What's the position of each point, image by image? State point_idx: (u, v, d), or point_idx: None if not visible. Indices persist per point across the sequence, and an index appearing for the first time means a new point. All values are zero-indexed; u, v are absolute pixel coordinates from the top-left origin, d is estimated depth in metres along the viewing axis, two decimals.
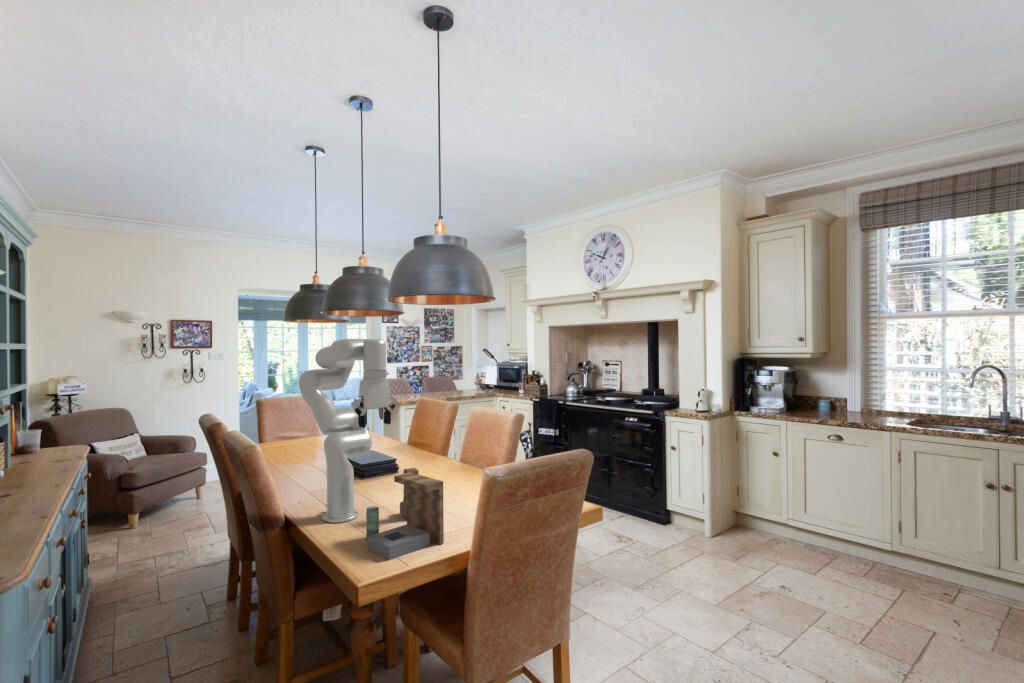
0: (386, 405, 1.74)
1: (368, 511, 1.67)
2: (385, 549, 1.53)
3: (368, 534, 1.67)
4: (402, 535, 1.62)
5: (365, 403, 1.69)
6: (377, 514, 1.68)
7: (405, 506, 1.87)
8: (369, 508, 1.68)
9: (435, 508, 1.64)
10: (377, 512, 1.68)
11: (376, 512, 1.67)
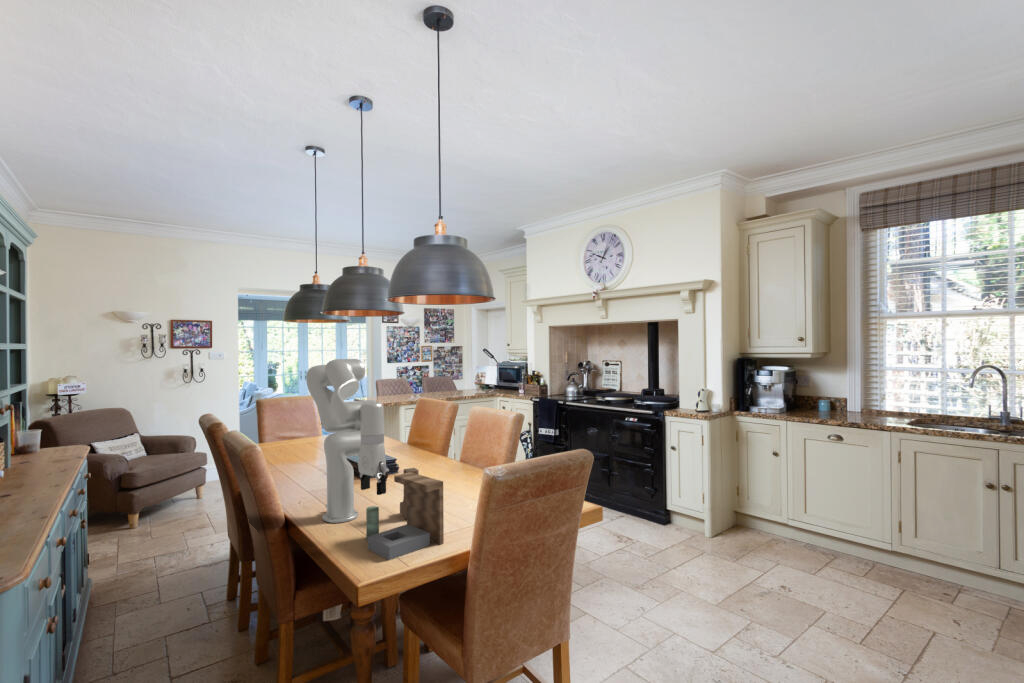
0: None
1: (368, 511, 1.67)
2: (385, 549, 1.53)
3: (368, 534, 1.67)
4: (402, 535, 1.62)
5: None
6: (377, 514, 1.68)
7: (405, 506, 1.87)
8: (369, 508, 1.68)
9: (435, 508, 1.64)
10: (377, 512, 1.68)
11: (376, 512, 1.67)
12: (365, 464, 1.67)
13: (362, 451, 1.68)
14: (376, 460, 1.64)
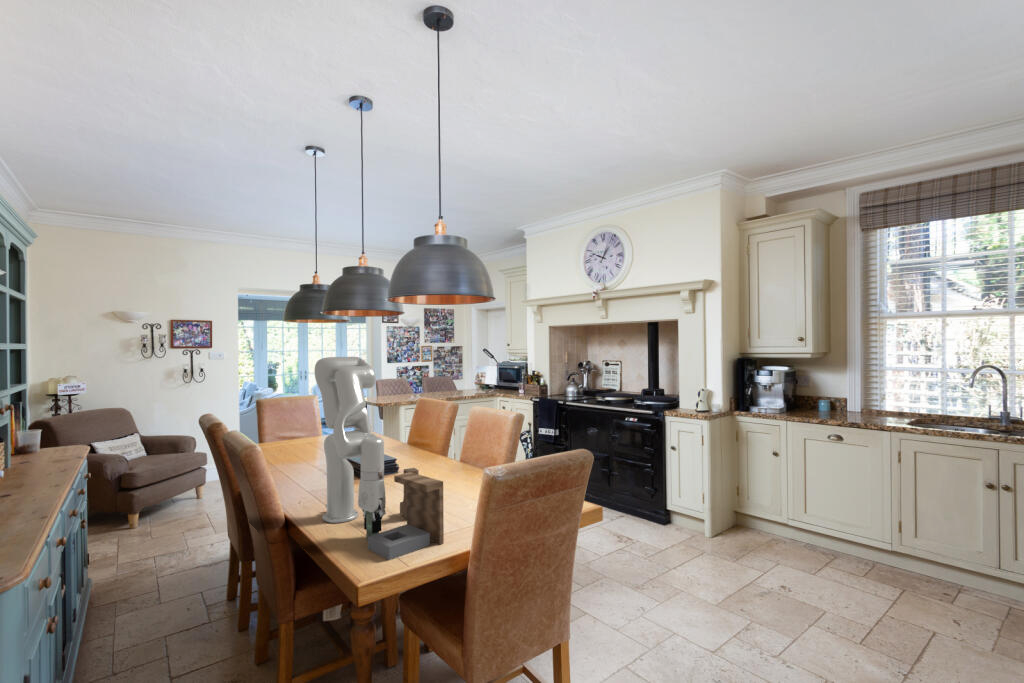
0: None
1: None
2: (385, 549, 1.53)
3: (368, 534, 1.67)
4: (402, 535, 1.62)
5: (385, 504, 1.67)
6: None
7: (405, 506, 1.87)
8: None
9: (435, 508, 1.64)
10: (377, 512, 1.68)
11: None
12: (365, 500, 1.67)
13: (362, 486, 1.68)
14: (376, 497, 1.64)
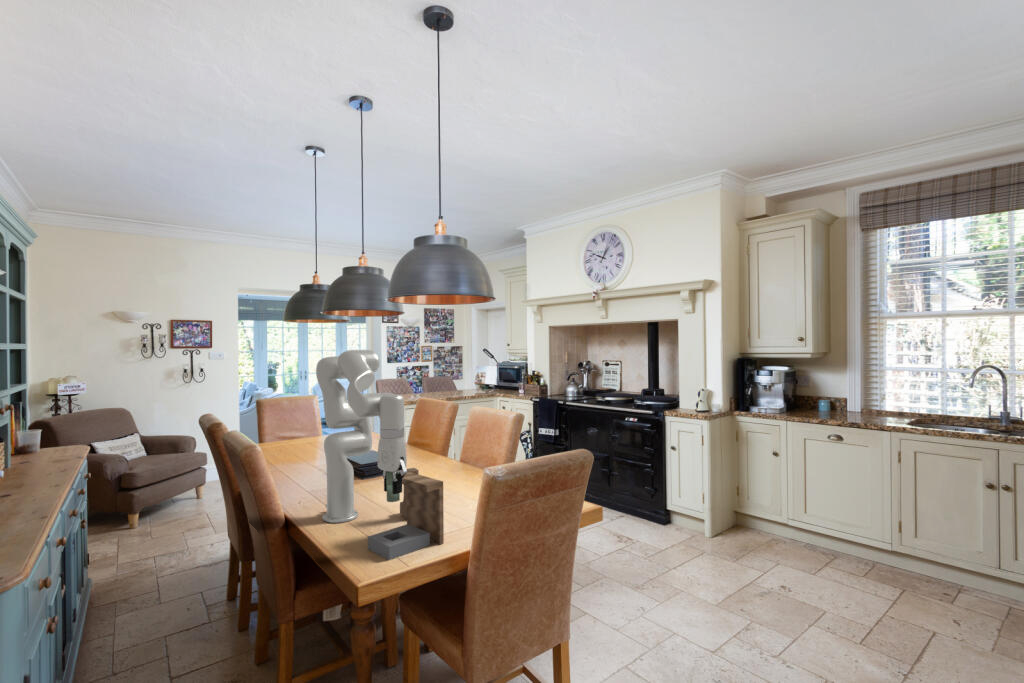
0: None
1: (388, 471, 1.59)
2: (385, 549, 1.53)
3: (388, 495, 1.59)
4: (402, 535, 1.62)
5: (406, 463, 1.59)
6: None
7: (405, 506, 1.87)
8: None
9: (435, 508, 1.64)
10: (398, 472, 1.60)
11: None
12: (385, 459, 1.59)
13: (382, 445, 1.60)
14: (397, 455, 1.56)
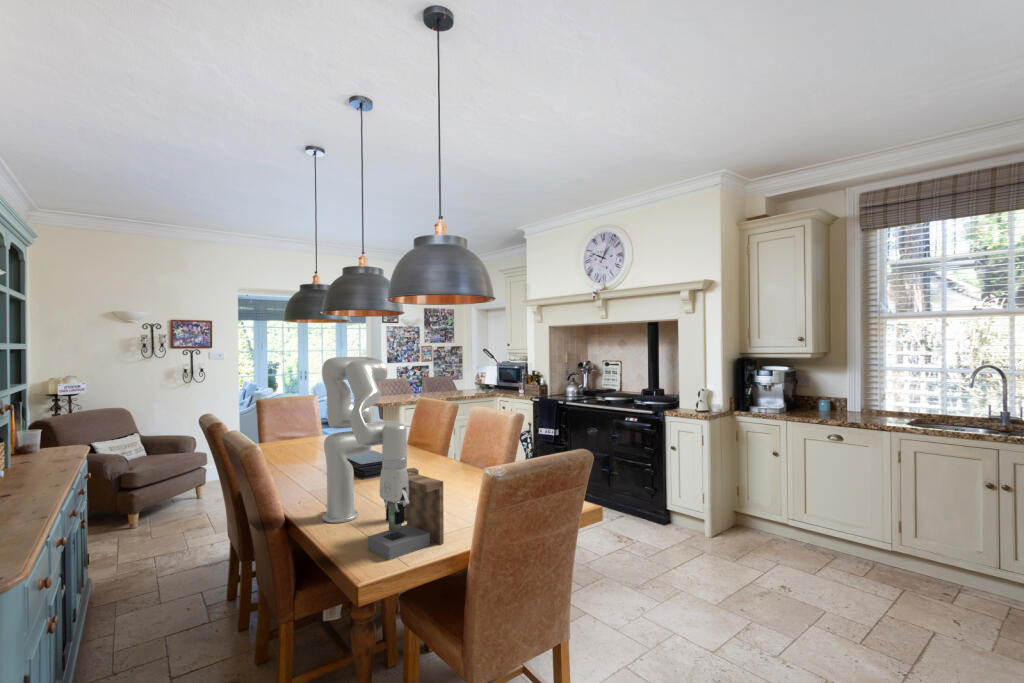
0: None
1: None
2: (385, 549, 1.53)
3: (390, 526, 1.58)
4: (402, 535, 1.62)
5: (408, 493, 1.58)
6: None
7: None
8: None
9: (435, 508, 1.64)
10: None
11: None
12: (387, 489, 1.58)
13: (384, 475, 1.59)
14: (399, 486, 1.55)
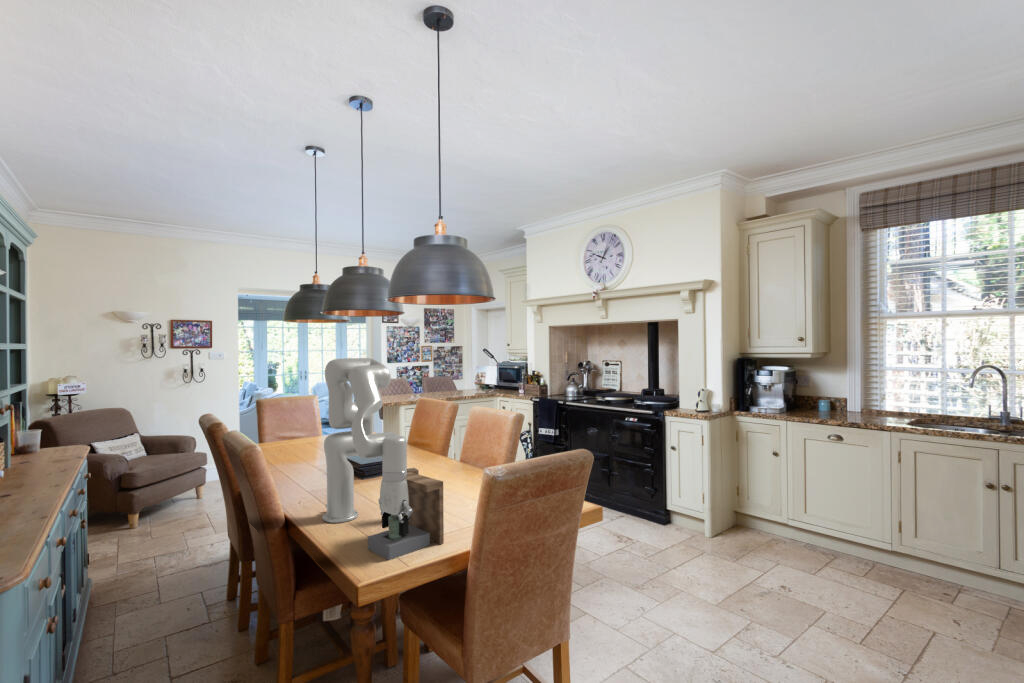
0: None
1: (390, 520, 1.58)
2: (385, 549, 1.53)
3: None
4: (402, 535, 1.62)
5: None
6: None
7: None
8: (391, 517, 1.60)
9: (435, 508, 1.64)
10: None
11: (398, 521, 1.59)
12: (387, 502, 1.58)
13: (384, 488, 1.59)
14: (399, 499, 1.55)
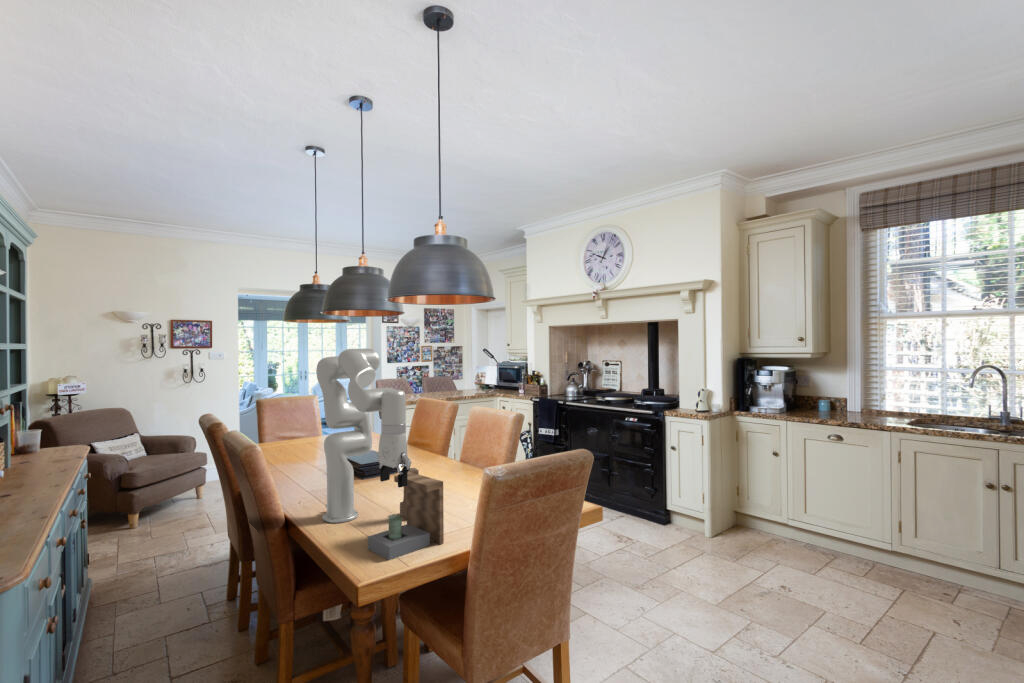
0: None
1: (390, 520, 1.58)
2: (385, 549, 1.53)
3: None
4: (402, 535, 1.62)
5: None
6: (400, 523, 1.59)
7: (405, 506, 1.87)
8: (391, 517, 1.60)
9: (435, 508, 1.64)
10: (400, 521, 1.59)
11: (398, 521, 1.59)
12: (386, 454, 1.58)
13: (383, 441, 1.60)
14: (398, 451, 1.56)
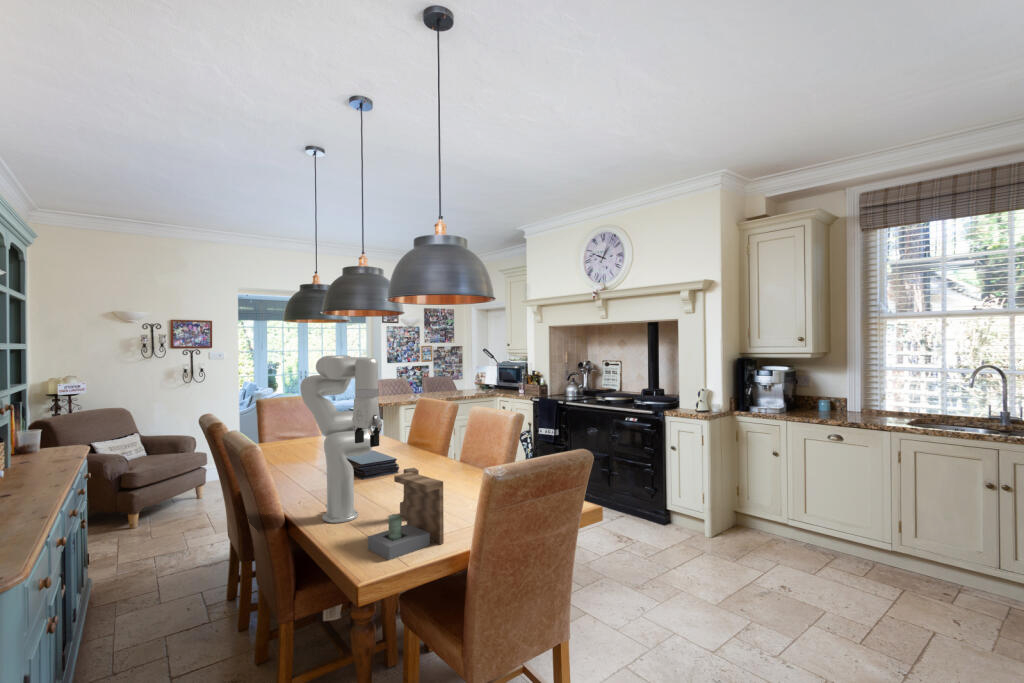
0: None
1: (390, 520, 1.58)
2: (385, 549, 1.53)
3: None
4: (402, 535, 1.62)
5: None
6: (400, 523, 1.59)
7: (405, 506, 1.87)
8: (391, 517, 1.59)
9: (435, 508, 1.64)
10: (400, 521, 1.59)
11: (398, 521, 1.58)
12: (359, 417, 1.71)
13: (356, 405, 1.72)
14: (370, 413, 1.69)
